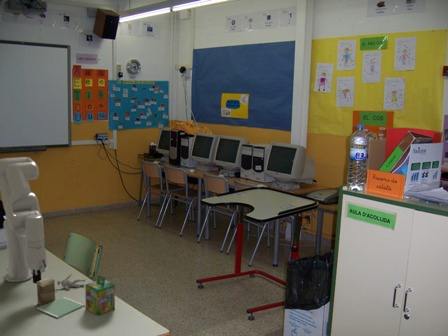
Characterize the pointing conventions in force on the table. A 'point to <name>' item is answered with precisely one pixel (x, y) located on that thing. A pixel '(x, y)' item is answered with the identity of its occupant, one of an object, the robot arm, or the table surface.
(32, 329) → the table surface
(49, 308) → the mat
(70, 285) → the soldier figure
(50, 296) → the walnut block
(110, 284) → the chalk box
